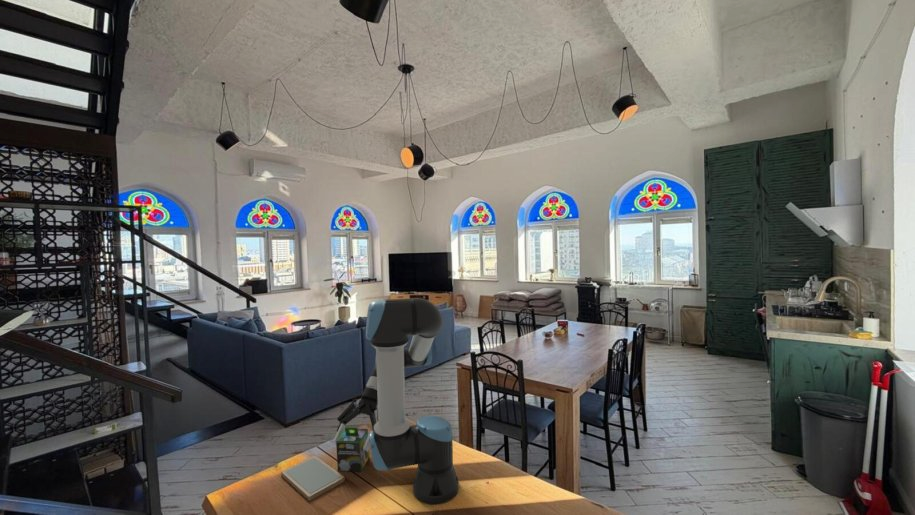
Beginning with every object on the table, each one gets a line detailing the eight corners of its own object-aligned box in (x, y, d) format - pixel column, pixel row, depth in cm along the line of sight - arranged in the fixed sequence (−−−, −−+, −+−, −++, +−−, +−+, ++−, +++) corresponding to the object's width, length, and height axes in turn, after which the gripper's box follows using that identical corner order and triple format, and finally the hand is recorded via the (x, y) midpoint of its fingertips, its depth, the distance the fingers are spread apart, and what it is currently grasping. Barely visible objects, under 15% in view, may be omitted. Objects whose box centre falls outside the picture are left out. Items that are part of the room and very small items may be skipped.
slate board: (344, 481, 134) (344, 476, 134) (309, 501, 124) (308, 496, 124) (315, 459, 147) (315, 455, 147) (281, 475, 137) (281, 471, 137)
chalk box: (369, 457, 148) (368, 420, 147) (361, 472, 138) (360, 432, 137) (346, 456, 148) (344, 419, 147) (336, 471, 139) (334, 431, 138)
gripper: (404, 399, 152) (383, 457, 140) (354, 389, 162) (329, 442, 150) (396, 391, 147) (373, 450, 134) (344, 382, 157) (319, 435, 145)
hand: (350, 446), depth 142 cm, fingers open, 13 cm apart
